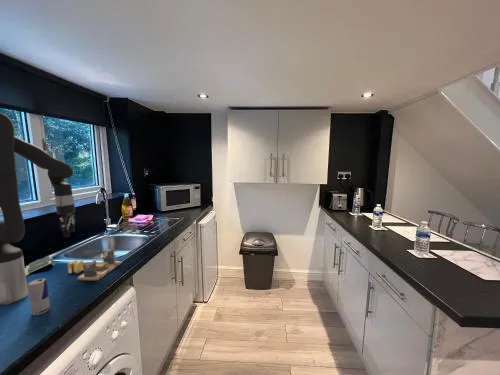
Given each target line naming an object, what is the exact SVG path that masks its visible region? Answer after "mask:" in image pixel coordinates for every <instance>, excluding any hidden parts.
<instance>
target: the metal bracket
mask: <svg viewBox="0 0 500 375" xmlns="http://www.w3.org/2000/svg"><path fill="white" fill-rule="evenodd" d="M56 264H57V263H56V262H55V261H54V259H53V257H52V256H50V257H49V256H48V255H47V256H45V257H44V258H40V259H37V260H35V261H33V262H30V263H29V264H28V265H26V266H25V267H26V268H25V273H26V277H27V276H29V274H31V273H33V272H35V271H37V270H40V269H41V268H42V269H43V268H44V267H46V266H48V265H52V266H53V267H54V266H55V265H56Z"/></svg>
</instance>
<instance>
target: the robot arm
mask: <svg viewBox="0 0 500 375" xmlns="http://www.w3.org/2000/svg"><path fill="white" fill-rule="evenodd" d="M15 153H16V154H17V155H18V156H21V157H23V158H24V159H26V160H27V161H28V162H30V163H31V164H34V165H35V166H37V167H38V168H40V169H42V170H47V177H48V179H49V181H50V184H51V185H52V188H53V191H54V203H55V209H56V214H57V215H61V217H60V218H59V217H58V222H59V230H60V231H62V235H63V238H69V237H70V233H74V232H75V231H76V230H75V223H76V216H75V212H76V206H75V200H74V196H73V195H74V194H73V190H72V189H73V188H72V184H70V183H68V182H66V181H65V179H69V178H71V177H72V176H73V175H74V171H73V168H72V166H70V165H69V164H67V163H65V162H63V161H62V160H59V159H57V158H55V157H53V156H51V155H50V153H48V152H46V151H45V150H43V149H42V148H40V147H39V146H37V145H35V144H33V143H31V142H30V143H29V142H27V141H25V140H23V139H21V138H19V137H17V136H15V126H14V123H13V121H12V119H11V118H10V117H9V116H7V115H6V114H4V113H1V112H0V210H1V212H2V217H3V219H2V220H0V306H2V305H5V306H7V305H11V304H13V303H16V302H18V301H21V300H22V299H25V298H26V297H28V296H29V292H28V282H27V276H26V273H25V267H26V266H25V261H24V253H23V250H22V248H19V247H15V246H14V245H12V243H18V242H21V240H22V239H24V236H25V233H26V226H25V221H24V217H23V213H22V209H21V204H20V197H19V190H18V189H19V188H18V177H17V171H16V169H17V168H16V157H15Z"/></svg>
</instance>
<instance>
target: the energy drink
mask: <svg viewBox="0 0 500 375" xmlns="http://www.w3.org/2000/svg"><path fill="white" fill-rule="evenodd" d="M27 287H28V298H29V304H30V311H31V315H33V316H40V315H43V314H45V313H47V312H48V311H49V310H50V309H51V303H50V296H49V288H48V280H47V279H46V278H45V277H40V278H36V279H33V280H31V281H29V282H27Z"/></svg>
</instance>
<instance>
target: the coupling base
mask: <svg viewBox="0 0 500 375" xmlns="http://www.w3.org/2000/svg"><path fill="white" fill-rule="evenodd" d="M107 249H108V248H106V249H104V250H103V251H102V255H103V254H104V253H105V252H108V256H107V257H106V258H103V257H102V261H98V262H97V261H96V262H97V263H96V262H92V261H86V263H85V262H84V263H83V273H81V274H80V275H79V276H78V277H77V281H99V280H101V279H102V278H103V277H104V276H106V275H107V274H109V273H111V272H112V271H113V270H114V269H115V268H117V267H118V266H120V265H121V261H119V260H115V253H114V249H112V248H110V249H111V250H109V251H107ZM86 265H89V269H86V268H85V266H86Z"/></svg>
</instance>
